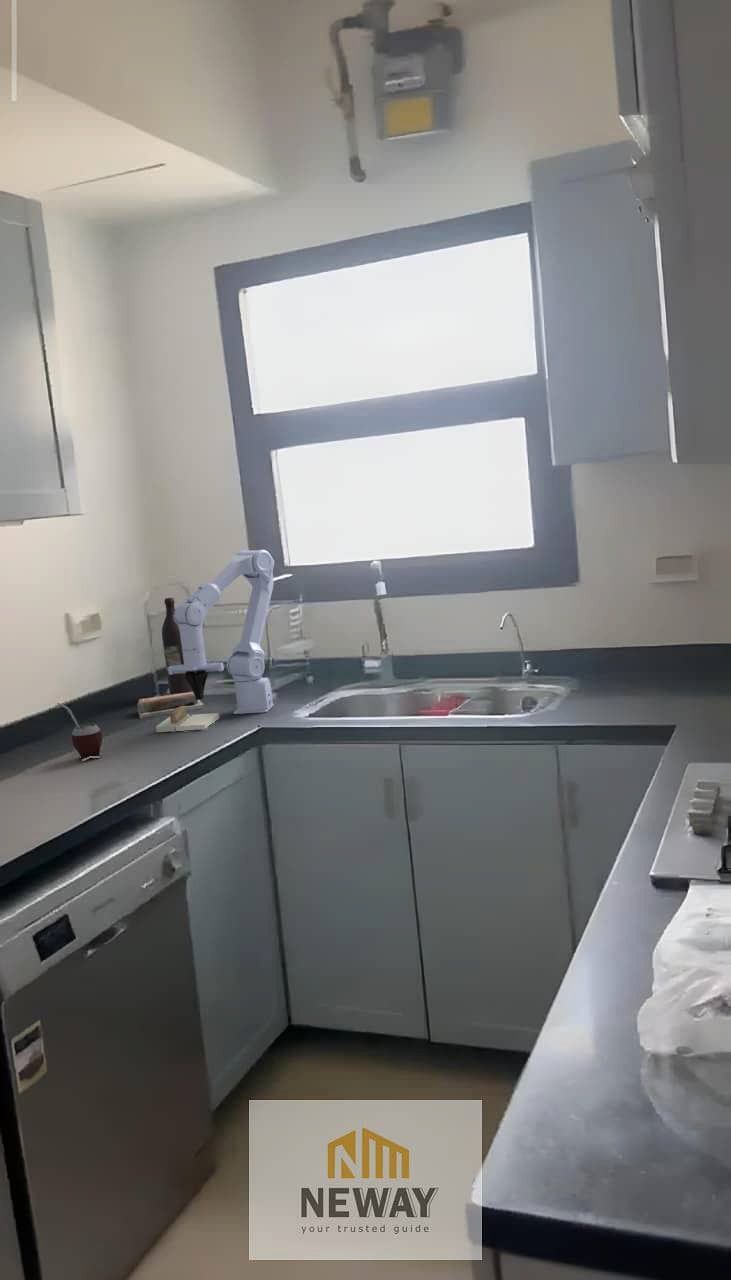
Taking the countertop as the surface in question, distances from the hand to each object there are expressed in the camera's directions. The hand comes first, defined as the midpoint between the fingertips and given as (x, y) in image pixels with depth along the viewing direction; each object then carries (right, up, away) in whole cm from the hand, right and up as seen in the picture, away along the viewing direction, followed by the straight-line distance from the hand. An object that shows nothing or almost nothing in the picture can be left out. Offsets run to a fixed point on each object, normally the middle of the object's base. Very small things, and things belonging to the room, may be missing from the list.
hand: (199, 699), depth 280 cm
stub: (-7, -7, +3) cm, 11 cm away
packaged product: (-12, -5, +23) cm, 27 cm away
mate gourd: (-24, -13, -21) cm, 35 cm away
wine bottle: (-11, -2, +40) cm, 41 cm away
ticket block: (-1, -7, +2) cm, 7 cm away
